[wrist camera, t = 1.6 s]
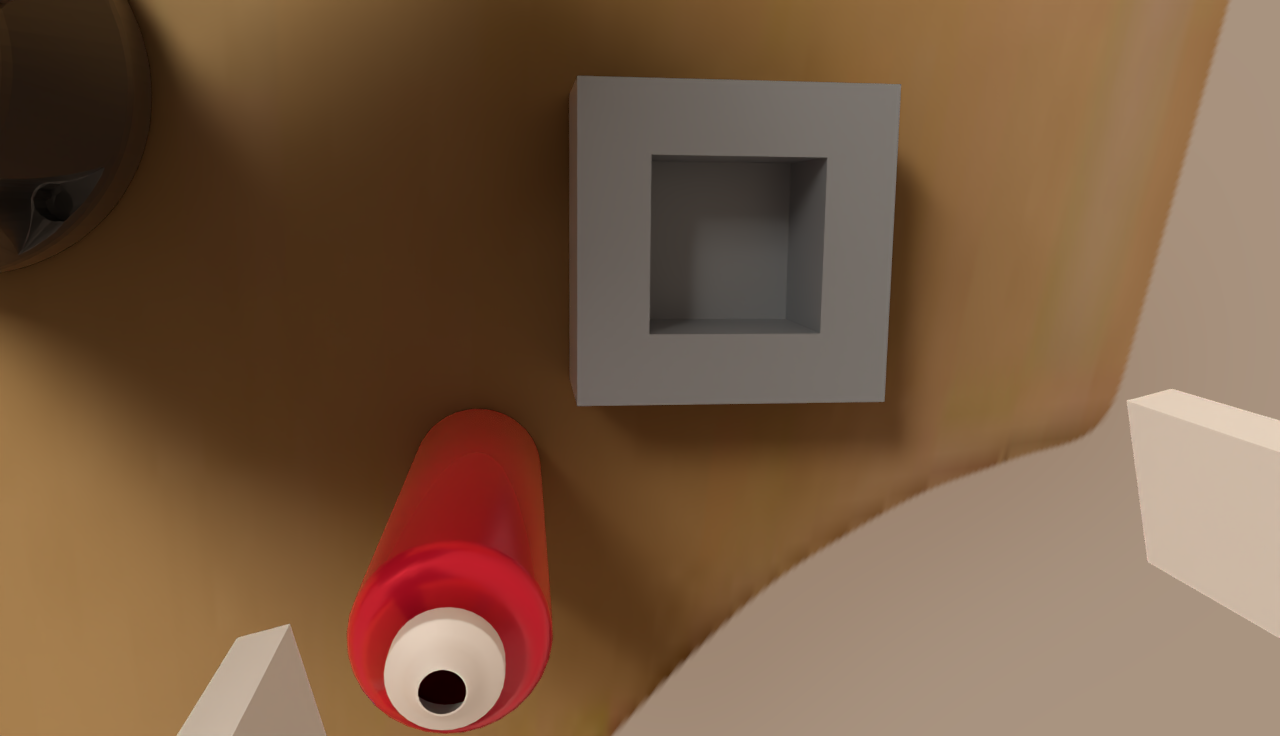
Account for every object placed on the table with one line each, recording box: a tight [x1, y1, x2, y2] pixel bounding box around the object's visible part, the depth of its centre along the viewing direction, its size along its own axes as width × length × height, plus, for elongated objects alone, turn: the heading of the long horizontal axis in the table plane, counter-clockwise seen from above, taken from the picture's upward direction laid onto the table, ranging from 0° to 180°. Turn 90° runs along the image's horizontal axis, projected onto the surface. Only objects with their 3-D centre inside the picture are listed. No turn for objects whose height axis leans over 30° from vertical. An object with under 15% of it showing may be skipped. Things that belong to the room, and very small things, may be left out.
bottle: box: [347, 409, 553, 734], centre depth 33 cm, size 6×5×20 cm
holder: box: [569, 76, 901, 406], centre depth 39 cm, size 12×12×6 cm
